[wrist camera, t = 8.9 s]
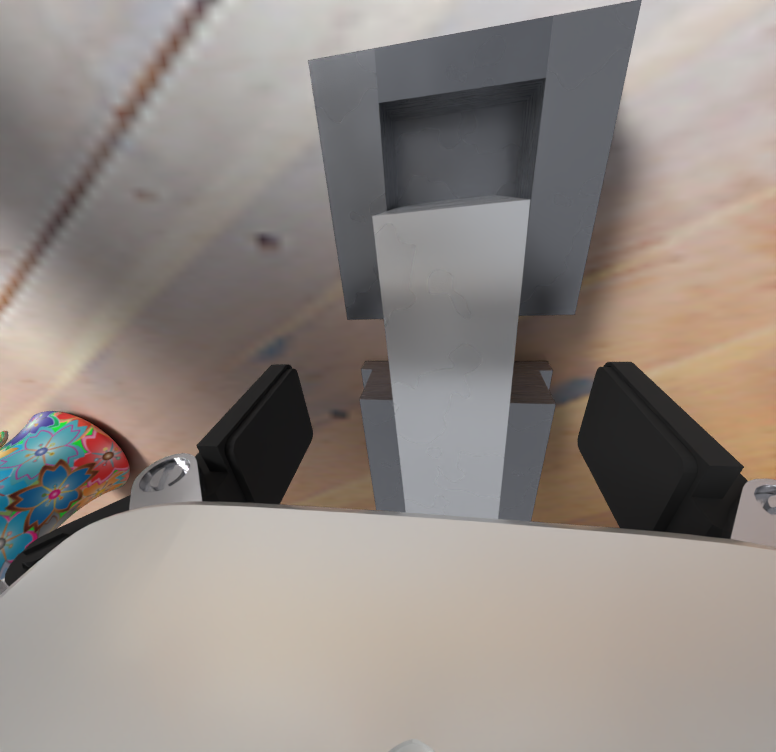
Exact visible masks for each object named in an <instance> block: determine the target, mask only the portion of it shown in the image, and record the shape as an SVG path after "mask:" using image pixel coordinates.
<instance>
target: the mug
mask: <svg viewBox="0 0 776 752" xmlns="http://www.w3.org/2000/svg"><path fill="white" fill-rule="evenodd" d="M7 439H8V431H2V432H1V433H0V447H1V448H0V580H2V579H3V578H5V573H6V571H7V569H8V568H9V566H10V564H11V563H12V562H13V561H14V559H15V558H16V557H17V556H18V555H19V554H20V553H21V552H22V551H23V550H24V549H25V548H26V547H27V546H28V545H29V544H31V543H32V542H33V541H35V540H36V539H38V538H39V537H41V536H43V535H45V534H47V533H50V532H51V531H53V530H55V529H57V528H58V527H59V526H60V525H61V524H62V523H63V522H65V521H66V520H67V519H68V518H69V517H70V516H71V515H73V514H74V513H75V512H76V511H78V510H79V509H80V508H82V507H83V506H85V505H86V504H87V503H89V502H90V501H92V500H94V499H95V498H97V497H99V496H101V495H103V494H105V493H107V492H109V491H111V490H114V489H117V488H119V487H121V486H123V485H124V484H125V483H126V481H127V480H128V478H129V473H130V468H129V464H128V461H127V458H126V456H125V454H124V453H123V451H122V450H121V449H120V447H119V446H118V445H117V444H116V443H115V441H114V440H113V439H111V438H110V437H109V436H108V435H107V434H106V433H105V432H103V431H102V430H101V429H99V428H98V427H96V426H95V425H93V424H91V423H90V422H88V421H86V420H84V419H82V418H79V417H77V416H74V415H71V414H68V413H64V412H58V411H46V412H41V413H38V414H36V415H34V416H33V417H32V418H30V420H29V421H28V422H27V424H26V425H25V427H24V428H23V429H22V430H21V431H20V432H19V433H18V434H17V435H16V436H15V437H14V438H13V439H12V440H10V441H9V442H8V443H7V444H5V443H6V441H7ZM4 444H5V445H4ZM3 445H4V446H3ZM2 446H3V447H2Z"/></svg>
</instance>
